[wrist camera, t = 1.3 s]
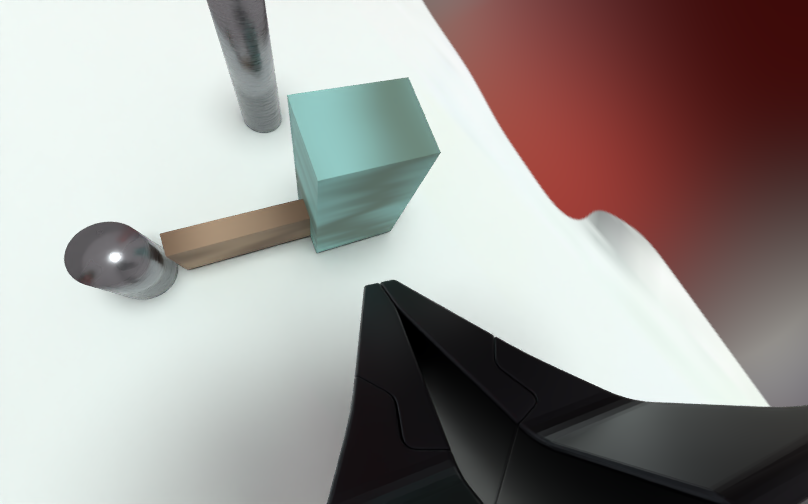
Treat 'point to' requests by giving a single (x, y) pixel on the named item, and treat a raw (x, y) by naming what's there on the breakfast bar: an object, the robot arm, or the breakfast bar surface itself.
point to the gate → (330, 175)
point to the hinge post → (119, 261)
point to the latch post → (249, 59)
